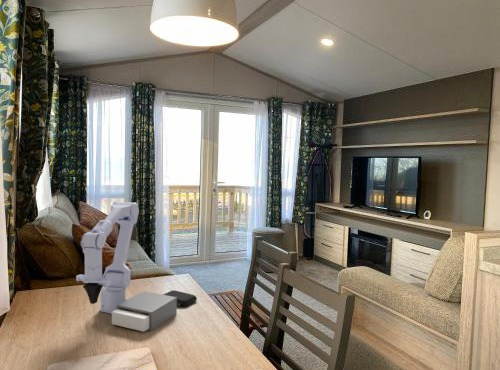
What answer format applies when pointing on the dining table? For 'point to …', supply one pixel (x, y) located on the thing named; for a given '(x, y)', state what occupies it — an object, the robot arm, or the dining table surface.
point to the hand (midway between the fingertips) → (93, 302)
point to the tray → (130, 320)
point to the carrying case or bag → (182, 298)
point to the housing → (151, 307)
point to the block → (140, 312)
